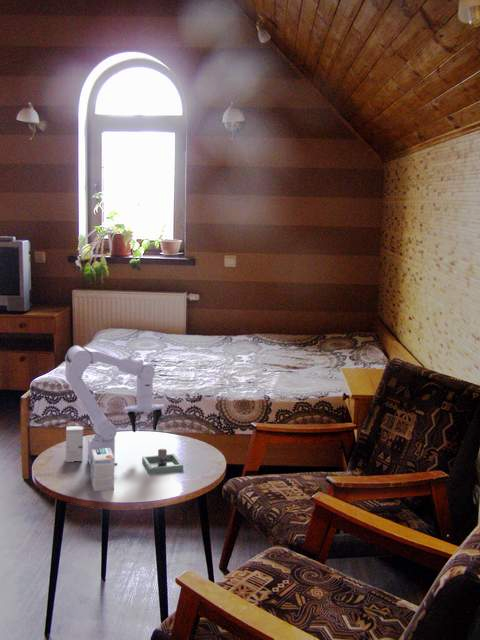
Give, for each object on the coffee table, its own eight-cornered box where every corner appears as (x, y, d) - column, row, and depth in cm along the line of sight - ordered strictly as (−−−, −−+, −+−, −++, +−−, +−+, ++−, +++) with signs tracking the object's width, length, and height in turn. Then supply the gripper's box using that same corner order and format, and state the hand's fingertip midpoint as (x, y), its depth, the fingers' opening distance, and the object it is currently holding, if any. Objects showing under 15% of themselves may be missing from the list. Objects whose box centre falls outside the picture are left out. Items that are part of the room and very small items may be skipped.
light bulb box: (90, 479, 222) (90, 448, 221) (110, 477, 225) (110, 447, 223) (93, 491, 213) (93, 459, 211) (114, 489, 215) (115, 458, 213)
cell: (159, 468, 234) (159, 451, 233) (157, 465, 237) (157, 448, 236) (167, 467, 235) (167, 450, 234) (165, 464, 238) (165, 447, 237)
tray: (149, 474, 228) (149, 468, 228) (142, 462, 239) (142, 456, 239) (183, 470, 233) (183, 465, 232) (174, 458, 244) (174, 453, 243)
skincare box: (65, 462, 237) (65, 430, 235) (65, 458, 241) (65, 426, 239) (83, 461, 238) (83, 429, 236) (83, 457, 242) (83, 425, 240)
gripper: (127, 398, 236) (127, 435, 238) (166, 396, 241) (166, 431, 243) (123, 393, 242) (123, 429, 244) (161, 391, 247) (161, 426, 250)
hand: (144, 430), depth 244 cm, fingers open, 7 cm apart
